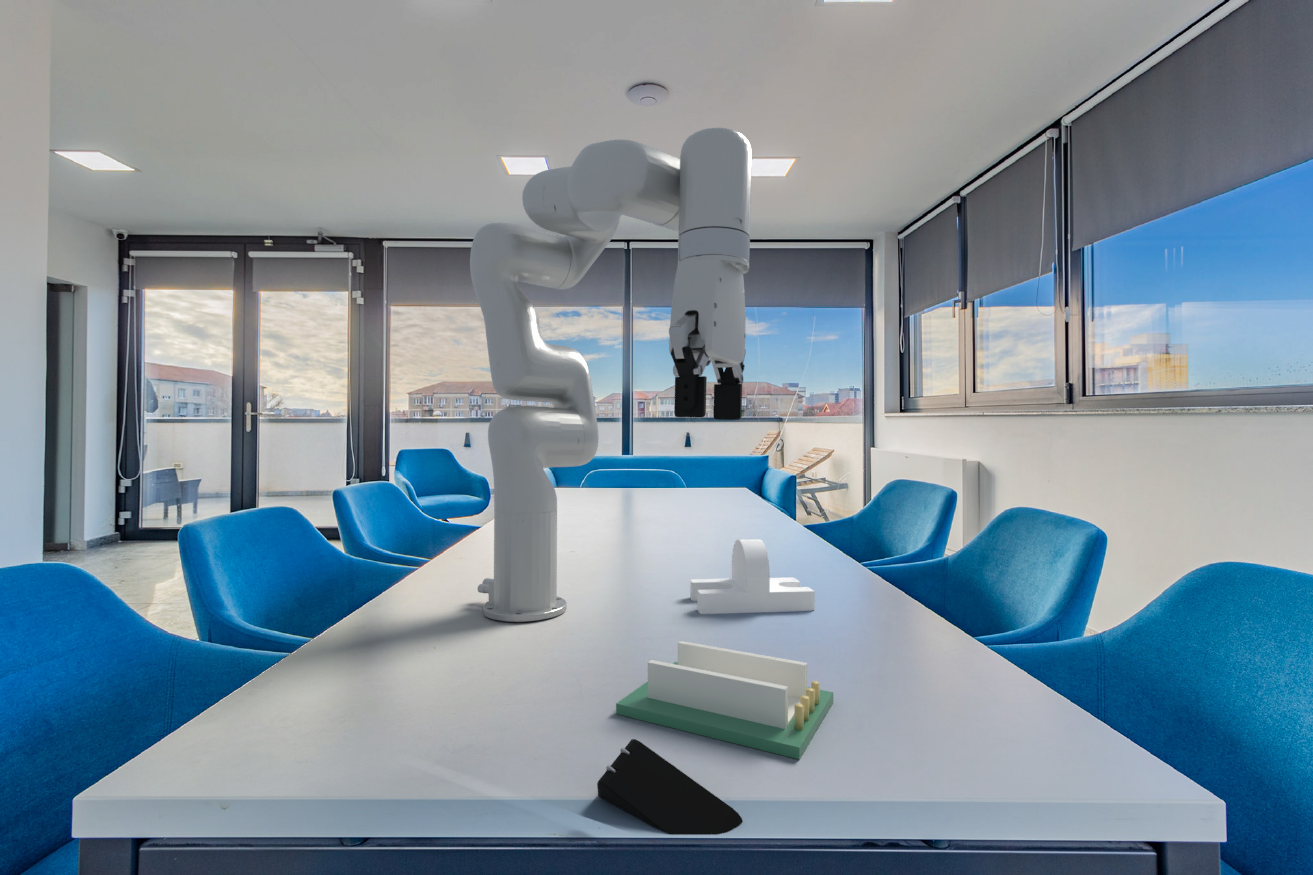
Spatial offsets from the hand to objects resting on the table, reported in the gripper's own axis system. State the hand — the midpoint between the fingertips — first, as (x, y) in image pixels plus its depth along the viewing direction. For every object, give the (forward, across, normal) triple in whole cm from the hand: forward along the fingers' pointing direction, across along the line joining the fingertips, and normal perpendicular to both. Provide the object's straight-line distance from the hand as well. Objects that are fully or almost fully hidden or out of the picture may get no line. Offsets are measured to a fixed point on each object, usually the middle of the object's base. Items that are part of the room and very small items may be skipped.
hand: (709, 418), depth 66 cm
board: (+29, +3, +4) cm, 29 cm away
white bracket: (+30, -35, -7) cm, 46 cm away
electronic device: (+36, +16, +4) cm, 40 cm away
